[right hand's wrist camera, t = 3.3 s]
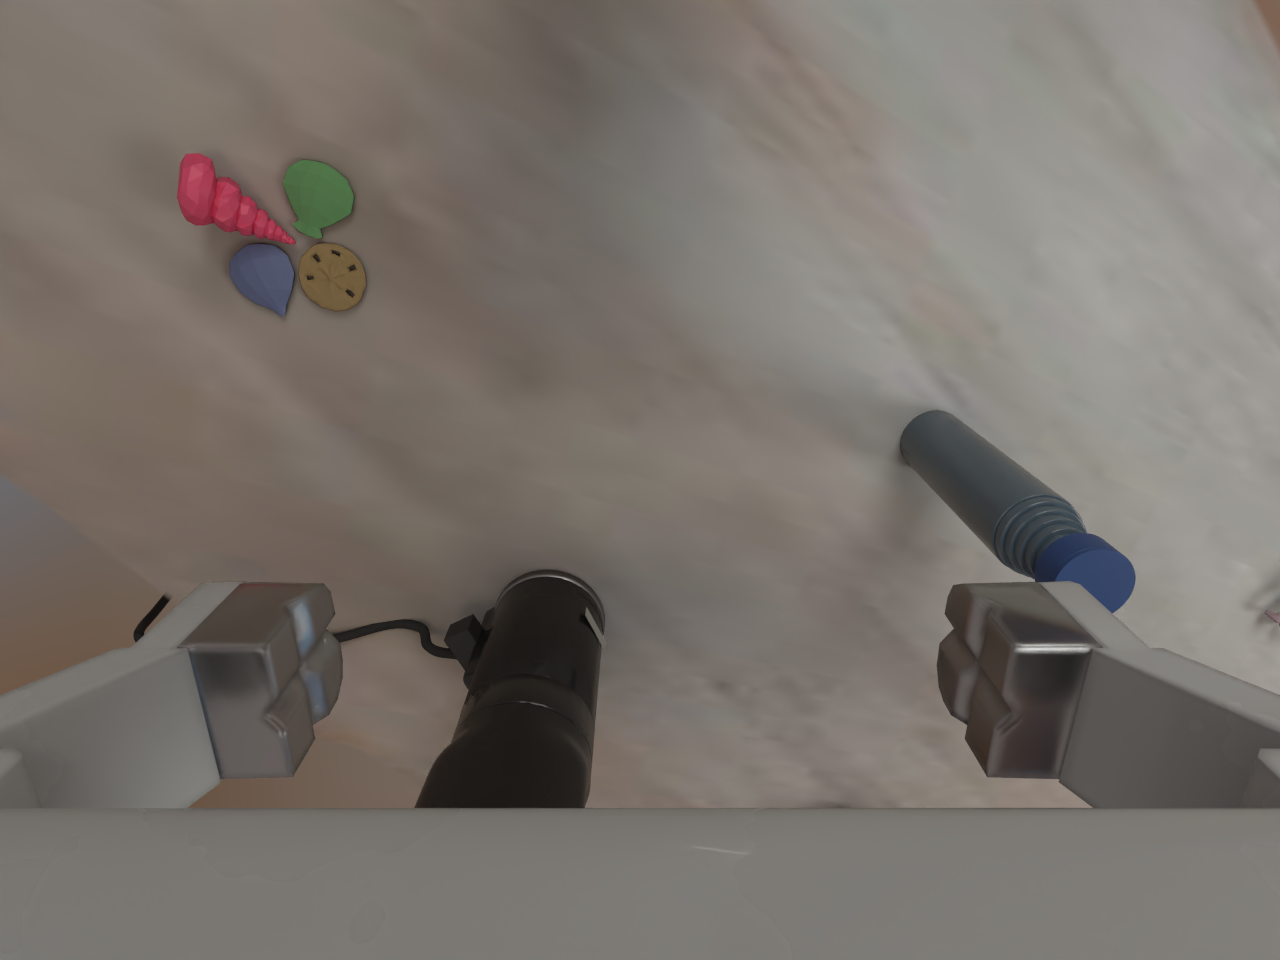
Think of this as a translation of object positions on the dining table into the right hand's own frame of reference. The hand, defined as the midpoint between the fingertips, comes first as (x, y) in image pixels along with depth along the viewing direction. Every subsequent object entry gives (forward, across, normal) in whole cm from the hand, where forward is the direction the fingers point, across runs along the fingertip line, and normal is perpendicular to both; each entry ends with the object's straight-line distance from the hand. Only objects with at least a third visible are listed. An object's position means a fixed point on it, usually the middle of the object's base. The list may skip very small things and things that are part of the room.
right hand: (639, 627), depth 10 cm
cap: (+25, -23, +14) cm, 37 cm away
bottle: (+48, -23, +14) cm, 55 cm away
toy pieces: (+48, +25, -2) cm, 54 cm away
